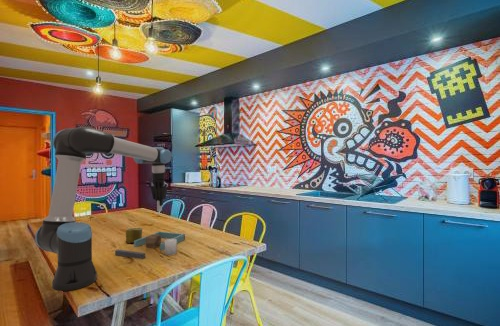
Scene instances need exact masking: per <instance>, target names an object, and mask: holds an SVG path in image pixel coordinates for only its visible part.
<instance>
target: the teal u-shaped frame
mask: <svg viewBox="0 0 500 326" xmlns="http://www.w3.org/2000/svg"><path fill="white" fill-rule="evenodd" d="M152 234H156V235H161V239H176V240H177V244H179V243H181V242H183V241H185V240H186V236H185V235H186V233H180V232H178V233H177V232H168V231H157V232H154V233H151V234H148V235H147V236H150V235H152ZM147 236H142V238H141V239H138V240H135V241H134V243H133V247H134V248H137V247H139V246H142V245H144V244H145V245H146V237H147ZM159 250H160V251H165V241H164V242H161V244H160V246H159Z"/></svg>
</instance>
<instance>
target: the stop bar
mask: <svg viewBox="0 0 500 326" xmlns="http://www.w3.org/2000/svg"><path fill="white" fill-rule="evenodd" d="M117 255H118V257H119V256H120V257H125V258H133V259H139V260H145V258H146V253H145V252H142V251H141V252H140V251H132V250H124V249H116V250H115V251H114V256H117Z"/></svg>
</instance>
